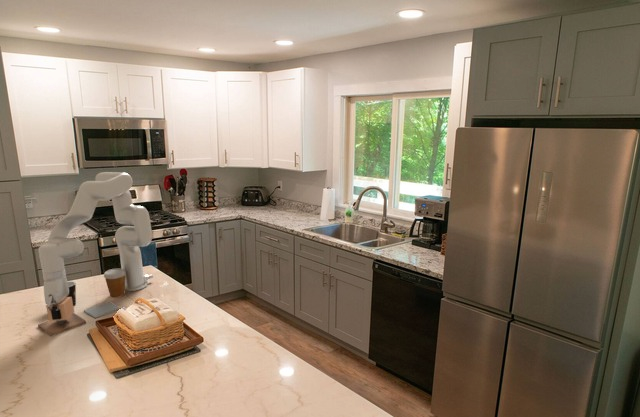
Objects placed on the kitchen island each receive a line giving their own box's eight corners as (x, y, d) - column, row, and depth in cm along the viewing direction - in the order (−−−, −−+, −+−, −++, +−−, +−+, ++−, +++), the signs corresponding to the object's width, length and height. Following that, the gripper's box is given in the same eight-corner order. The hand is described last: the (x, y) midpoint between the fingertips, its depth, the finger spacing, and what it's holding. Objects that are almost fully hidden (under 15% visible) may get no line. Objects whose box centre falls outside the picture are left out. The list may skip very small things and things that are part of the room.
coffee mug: (70, 309, 175) (67, 288, 173) (51, 309, 175) (48, 289, 173) (86, 298, 186) (83, 278, 184) (68, 298, 187) (65, 278, 184)
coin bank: (57, 313, 164) (54, 297, 163) (74, 312, 165) (71, 296, 163) (49, 321, 158) (45, 304, 156) (66, 319, 158) (63, 303, 157)
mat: (109, 302, 182) (109, 301, 182) (121, 308, 175) (120, 307, 175) (83, 311, 173) (83, 310, 173) (95, 318, 167) (95, 317, 166)
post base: (73, 314, 171) (70, 297, 169) (86, 323, 163) (83, 305, 161) (38, 326, 160) (35, 308, 159) (50, 336, 153) (47, 317, 151)
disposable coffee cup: (107, 293, 192) (103, 269, 190) (128, 289, 196) (125, 266, 194) (105, 300, 184) (102, 276, 181) (128, 296, 188) (125, 273, 185)
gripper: (55, 266, 165) (62, 305, 169) (31, 283, 148) (40, 326, 152) (74, 265, 166) (80, 304, 170) (53, 281, 149) (60, 324, 153)
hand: (61, 314), depth 161 cm, fingers closed on coin bank, 6 cm apart
